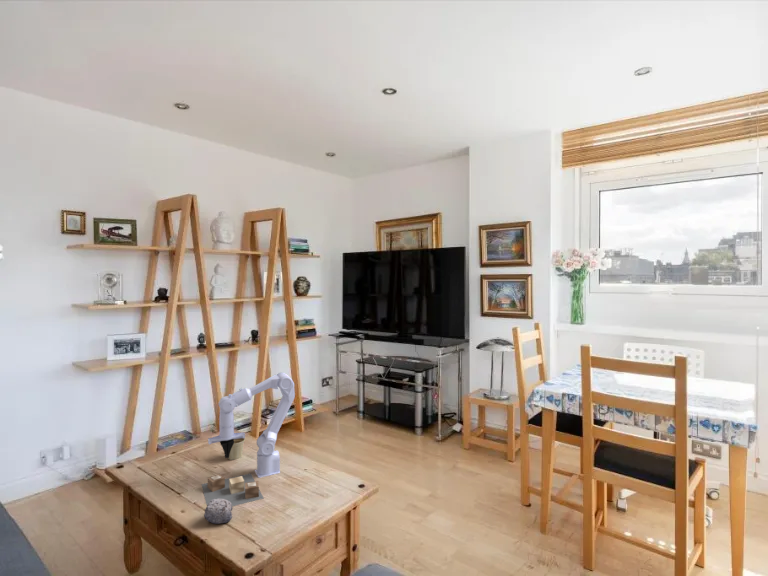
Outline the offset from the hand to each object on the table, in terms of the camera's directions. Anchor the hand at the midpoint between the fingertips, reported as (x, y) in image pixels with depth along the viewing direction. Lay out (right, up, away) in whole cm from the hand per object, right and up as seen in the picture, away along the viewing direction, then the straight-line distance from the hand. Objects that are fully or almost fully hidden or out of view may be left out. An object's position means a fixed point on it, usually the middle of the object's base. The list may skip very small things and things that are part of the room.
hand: (226, 457), depth 178 cm
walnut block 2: (+15, -10, -12) cm, 21 cm away
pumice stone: (+9, -11, -29) cm, 32 cm away
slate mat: (+5, -10, -9) cm, 15 cm away
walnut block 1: (-2, -10, -7) cm, 12 cm away
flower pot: (-5, -10, +23) cm, 25 cm away
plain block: (+7, -10, -8) cm, 15 cm away
